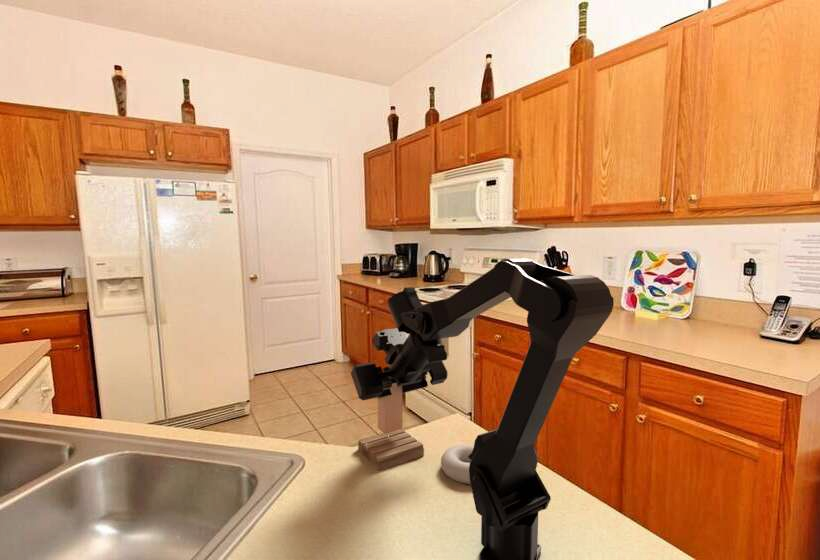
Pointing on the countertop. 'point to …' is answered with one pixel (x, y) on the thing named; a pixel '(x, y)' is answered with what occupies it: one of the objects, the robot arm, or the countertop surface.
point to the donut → (457, 462)
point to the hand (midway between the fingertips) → (386, 394)
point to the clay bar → (390, 411)
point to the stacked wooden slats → (390, 448)
